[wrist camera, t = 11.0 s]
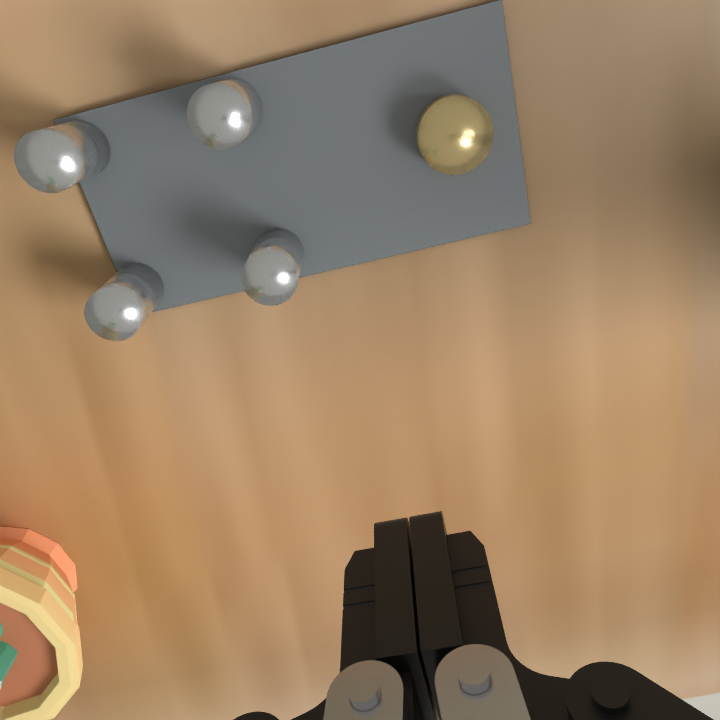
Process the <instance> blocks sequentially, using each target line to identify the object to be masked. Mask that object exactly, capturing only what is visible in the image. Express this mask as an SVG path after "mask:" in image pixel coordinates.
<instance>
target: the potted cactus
mask: <svg viewBox="0 0 720 720" xmlns="http://www.w3.org/2000/svg"><path fill="white" fill-rule="evenodd" d="M76 589H77V577H76V566H75V564H74V563H73V562H72V560H71V559H70V558H69V557H68V555H67V554H66V553H65V552H64V550H63V549H62V548H61V547H60V545H59V544H58V543H56V542H54V541H52V540H50V539H48V538H46V537H44V536H42V535H40V534H38V533H36V532H34V531H32V530H30V529H24V528H13V527H1V526H0V720H49V719H52V718H54V717H55V716H56V715H57V714H58V712H59V711H60V710H61V709H62V707H63V706H64V705H65V704H66V703H67V701H68V700H69V699H70V698H71V696H72V695H73V694H74V693H75V691H76V690H77V689H78V688H79V686H80V681H81V675H82V669H83V663H82V652H81V641H80V631H79V627H78V625H77V615H76V604H75V595H74V592H75V590H76Z"/></svg>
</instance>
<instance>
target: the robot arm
mask: <svg viewBox="0 0 720 720" xmlns="http://www.w3.org/2000/svg"><path fill="white" fill-rule="evenodd" d="M409 523H410V525H409ZM343 607H344V609H343V619H342V641H341V663H340V673H339V674H338V675H337V676H336V678H335V679H334V680H333V682H332V683H331V685H330V687H329V690H328V693H327V697H326V699H325V700H324V701H322V702H321V703H320V704H319V705H318V706H316V707H315V708H313V709H312V710H310V711H308V712H306V713H304V714H302V715H300V716H298V717H296V718H294V719H291V720H713V719H712V718H710V717H708V716H707V715H705V714H704V713H702V712H701V711H699V710H697V709H696V708H694V707H693V706H691V705H689V704H688V703H686V702H684V701H683V700H681V699H680V698H678V697H677V696H675V695H674V694H672V693H670V692H669V691H667V690H666V689H664V688H662V687H661V686H659V685H658V684H656V683H654V682H653V681H651V680H650V679H648V678H647V677H645V676H643V675H642V674H640V673H639V672H637V671H635V670H634V669H632V668H630V667H628V666H625V665H622V664H618V663H614V662H596V663H591V664H588V665H586V666H584V667H582V668H580V669H579V670H577V671H576V672H575V673H574V674H573V675H572V677H571V678H570V679H567V678H560V677H554V676H548V675H543V674H540V673H537V672H534V671H532V670H530V669H528V668H527V667H525V666H524V665H522V664H521V663H520V662H519V661H518V660H517V659H516V658H515V657H514V656H513V654H512V653H511V651H510V649H509V647H508V644H507V641H506V637H505V633H504V629H503V624H502V620H501V616H500V612H499V608H498V603H497V599H496V595H495V591H494V586H493V582H492V578H491V574H490V569H489V565H488V561H487V557H486V552H485V548H484V545H483V544H482V543H481V542H480V541H479V540H478V539H477V538H476V537H475V535H474V534H473V533H472V532H471V531H467V532H461V533H455V534H449V535H447V532H446V527H445V523H444V518H443V514H442V511H440V512H434V513H429V514H423V515H417V516H412V517H409V521H408V519H407V518H401V519H396V520H390V521H384V522H379V523H375V524H374V548H370V549H364V550H358V551H355V552H354V554H353V555H352V557H351V559H350V561H349V563H348V565H347V567H346V568H345V575H344V597H343ZM234 720H279V719H277V718H276V717H275V716H273V715H271V714H269V713H266V712H251V713H247V714H244V715H241V716H239V717H237V718H235V719H234Z"/></svg>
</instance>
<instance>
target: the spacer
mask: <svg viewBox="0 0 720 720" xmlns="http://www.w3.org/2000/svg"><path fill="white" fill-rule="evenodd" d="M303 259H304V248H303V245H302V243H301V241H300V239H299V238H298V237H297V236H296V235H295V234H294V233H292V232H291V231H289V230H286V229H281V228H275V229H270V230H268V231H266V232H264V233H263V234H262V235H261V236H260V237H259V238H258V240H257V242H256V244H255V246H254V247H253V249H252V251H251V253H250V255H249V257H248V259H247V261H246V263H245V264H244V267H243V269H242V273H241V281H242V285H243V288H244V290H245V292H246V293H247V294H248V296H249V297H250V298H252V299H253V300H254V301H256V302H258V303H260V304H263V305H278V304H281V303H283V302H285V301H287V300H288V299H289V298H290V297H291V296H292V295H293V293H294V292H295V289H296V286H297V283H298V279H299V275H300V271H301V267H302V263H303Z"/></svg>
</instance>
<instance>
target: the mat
mask: <svg viewBox="0 0 720 720" xmlns="http://www.w3.org/2000/svg"><path fill="white" fill-rule="evenodd" d="M228 79H239V80H243V81H245V82H247V83H249V84H250V85H251V86H252V87H254V88H255V90H256V91H257V92H258V94H259V96H260V98H261V101H262V104H263V116H262V120H261V122H260V124H259V126H258V127H257V129H256V130H255V131H254V132H252V133H251V134H250V135H249V136H247V137H246V138H245V139H243V140H242V141H241V142H240V143H238V144H237V145H236V146H234V147H231V148H228V149H214V148H210V147H208V146H206V145H204V144H203V143H201V142H200V141H199V140H198V139H197V138H196V137H195V136H194V134H193V133H192V131H191V129H190V127H189V124H188V120H187V107H188V103H189V100H190V98H191V97H192V95H193V94H194V93H195V92H196V91H197V90H198V89H199V88H200V87H202V86H204V85H207V84H211V83H215V82H219V81H224V80H228ZM446 94H461V95H464V96H467V97H469V98H471V99H474V100H475V101H477V102H478V103H480V104H481V105H482V106H483V107H484V108H485V109H486V111H487V112H488V114H489V116H490V118H491V120H492V124H493V131H494V134H493V142H492V146H491V149H490V151H489V153H488V155H487V156H486V158H485V159H484V160H483V162H482V163H481V164H480V165H478V166H477V167H476V168H474V169H473V170H471V171H469V172H467V173H464V174H459V175H448V174H444V173H441V172H438V171H437V170H435V169H433V168H432V167H431V166H430V165H429V164H428V163H427V162H426V161H425V159H424V158H423V156H422V154H421V153H420V151H419V149H418V147H417V143H416V138H415V130H416V124H417V121H418V118H419V116H420V114H421V112H422V111H423V109H424V108H425V107H426V106H427V105H428V104H429V103H430V102H431V101H432V100H434V99H435V98H437V97H439V96H442V95H446ZM75 120H82V121H87V122H90V123H92V124H94V125H95V126H97V127H98V128H99V129H100V130H101V131H102V132H103V133H104V135H105V136H106V138H107V140H108V142H109V145H110V151H111V155H110V160H109V163H108V165H107V167H106V168H105V169H104V170H103V171H102V172H100V173H98V174H96V175H94V176H92V177H90V178H88V179H86V180H84V181H82V182H80V185H81V187H82V189H83V192H84V194H85V197H86V199H87V201H88V204H89V206H90V209H91V211H92V213H93V216H94V218H95V221H96V223H97V225H98V228H99V230H100V233H101V235H102V237H103V240H104V242H105V245H106V247H107V249H108V252H109V254H110V256H111V259H112V261H113V264H114V266H115V268H116V271H117V272H118V271H119V270H120V269H121V268H122V267H123V266H125V265H127V264H130V263H142V264H146V265H148V266H150V267H152V268H153V269H154V270H155V271H156V272H157V273H158V274H159V275H160V277H161V279H162V281H163V284H164V294H163V297H162V299H161V300H160V302H159V303H158V304H157V306H156V307H155V308H154V309H153V311H152V312H155V311H159V310H164V309H168V308H172V307H176V306H181V305H185V304H189V303H193V302H198V301H202V300H206V299H211V298H215V297H219V296H223V295H228V294H232V293H236V292H241V291H245V290H244V288H243V285H242V281H241V273H242V269H243V267H244V264H245V263H246V261H247V259H248V257H249V255H250V253H251V251H252V249H253V247H254V246H255V244H256V242H257V240H258V238H259V237H260V236H261V235H262V234H263V233H264V232H266V231H268V230H270V229H275V228H281V229H286V230H289V231H291V232H292V233H294V234H295V235H296V236H297V237H298V238H299V239H300V241H301V243H302V245H303V248H304V259H303V263H302V267H301V271H300V275H299V278H301V277H305V276H309V275H313V274H318V273H322V272H326V271H330V270H335V269H339V268H343V267H348V266H352V265H356V264H360V263H365V262H369V261H373V260H378V259H382V258H386V257H390V256H395V255H399V254H403V253H408V252H412V251H416V250H420V249H425V248H429V247H433V246H437V245H442V244H446V243H450V242H455V241H459V240H463V239H467V238H472V237H476V236H480V235H485V234H489V233H493V232H497V231H502V230H506V229H510V228H515V227H519V226H523V225H527V224H531V221H530V214H529V206H528V198H527V191H526V183H525V175H524V167H523V160H522V152H521V144H520V137H519V129H518V121H517V113H516V106H515V98H514V90H513V83H512V75H511V67H510V59H509V52H508V44H507V36H506V28H505V21H504V13H503V5H502V0H498V1H495V2H491V3H487V4H483V5H480V6H476V7H472V8H469V9H465V10H461V11H457V12H454V13H450V14H446V15H442V16H439V17H435V18H431V19H428V20H424V21H420V22H416V23H413V24H409V25H405V26H402V27H398V28H394V29H390V30H387V31H383V32H379V33H375V34H372V35H368V36H364V37H361V38H357V39H353V40H349V41H346V42H342V43H338V44H334V45H331V46H327V47H323V48H320V49H316V50H312V51H308V52H305V53H301V54H297V55H294V56H290V57H286V58H282V59H279V60H275V61H271V62H267V63H264V64H260V65H256V66H253V67H249V68H245V69H241V70H238V71H234V72H230V73H227V74H223V75H219V76H215V77H212V78H208V79H204V80H200V81H197V82H193V83H189V84H186V85H182V86H178V87H174V88H171V89H167V90H163V91H159V92H156V93H152V94H148V95H145V96H141V97H137V98H133V99H130V100H126V101H122V102H119V103H115V104H111V105H107V106H104V107H100V108H96V109H92V110H89V111H85V112H81V113H78V114H74V115H70V116H66V117H63V118H59V119H55V120H54V122H55V125H59V124H63V123H67V122H71V121H75Z"/></svg>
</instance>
